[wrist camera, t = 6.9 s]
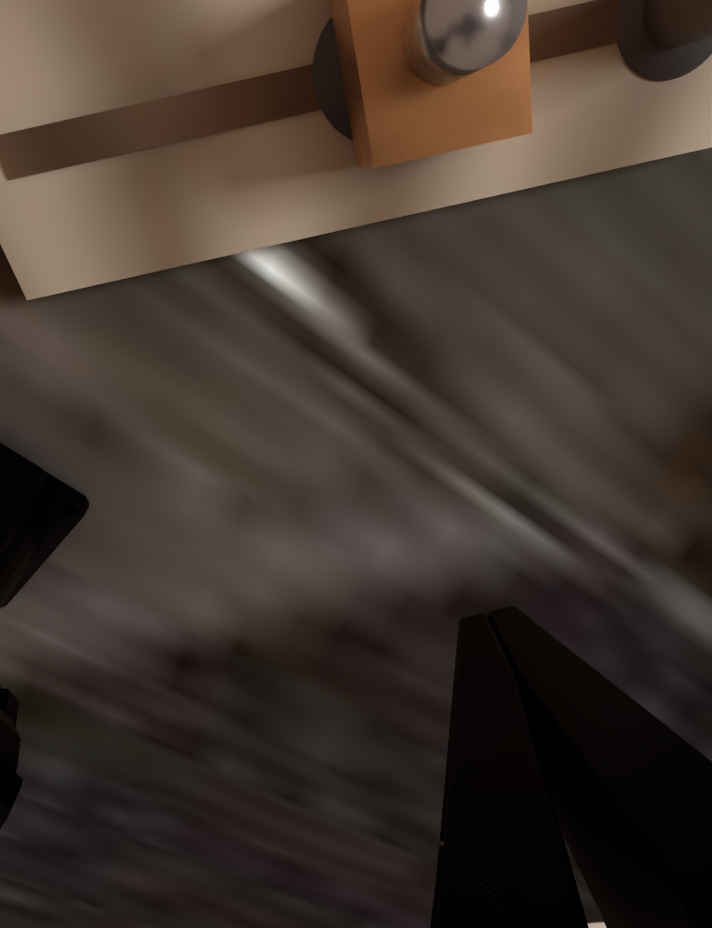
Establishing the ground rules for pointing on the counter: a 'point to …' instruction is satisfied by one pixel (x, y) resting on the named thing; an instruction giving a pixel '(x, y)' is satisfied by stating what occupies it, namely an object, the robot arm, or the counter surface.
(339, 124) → the bolt plate
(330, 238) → the counter surface
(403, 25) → the orange slider block
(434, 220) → the counter surface
